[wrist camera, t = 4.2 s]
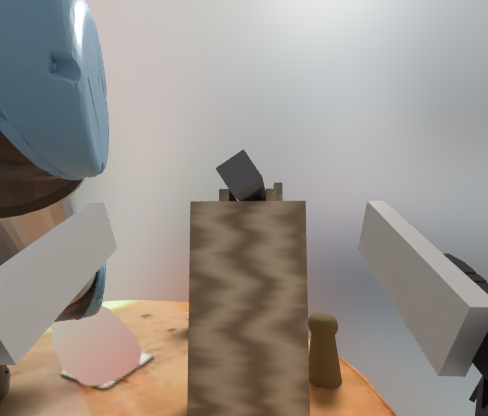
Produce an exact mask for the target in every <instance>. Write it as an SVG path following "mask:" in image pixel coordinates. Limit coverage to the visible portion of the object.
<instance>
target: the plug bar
mask: <svg viewBox="0 0 488 416" xmlns="http://www.w3.org/2000/svg"><path fill="white" fill-rule="evenodd" d="M216 170H217V171H218V173H219V174H220V176H221V177H222V178H223V180H224V182H225V184H226V185H227V187H228V188H229V190H230V191H231V193H232V194H233V196H234V197H235V198H237V199H238V200H239V201H263V200H264V195H265V188H264V183H263V179H262V176H261V175H260V173H259V171H258V170H257V169H256V167H255V166H254V164H253V163H252V161H251V160H250V158H249V157H248V155H247V154H246V152H245V151H244V150H242V151H240V152H239V153H238V154H236V155H235V156H233V157H232V158H230V159H229V160H227V161H226V162H224V163H223V164H221V165H220V166H218V167H217V168H216Z"/></svg>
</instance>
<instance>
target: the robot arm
mask: <svg viewBox="0 0 488 416" xmlns="http://www.w3.org/2000/svg"><path fill="white" fill-rule="evenodd" d="M108 125H109V124H108V111H107V101H106V82H105V74H104V66H103V60H102V53H101V47H100V42H99V37H98V32H97V29H96V25H95V21H94V18H93V15H92V13H91V11H90V9H89V6H88V4H87V2H86V0H0V400H1V399H2V398H3V397H4V396H5V395H6V394H7V392H8V390H9V387H10V371H9V369H8V368H7V367H6V365H17V364H18V363H19V361H20V360H21V359H22V358H23V357H24V356H25V355H26V353H27V352H28V351H29V350H30V349H31V348H32V346H33V345H34V344H35V343H36V342H37V341H38V339H39V338H40V337H41V336H42V335H43V334H44V332H45V331H46V330H47V329H48V328H49V327H50V326H51V324H52V323H53V322H57V321H65V320H72V319H76V320H79V319H82V318H85V317H89V316H93V315H95V314H96V313H97V312H98V311H99V310H100V308H101V305H102V300H103V293H104V288H105V276H106V260H107V259H108V258H109V257H110V256H111V255H112V254H113V252H114V251H115V250H116V249H117V247H116V243H115V240H114V236H113V232H112V229H111V226H110V222H109V218H108V215H107V212H106V208H105V204H104V203H89V204H88V205H86V206H85V207H83V208H82V209H81V210H79V211H78V212H77V206H76V199H75V193H74V192H75V191H76V190H77V189H78V188H79V187H80V185H81V184H82V183H83V181H84V180H85V178H86V177H94V176H96V175H98V174H100V173H102V172H103V170H104V169H105V167H106V163H107V157H108V144H109V141H108V139H109V126H108ZM358 249H359V251H360V252H361V254H362V256H363V257H364V258H365V260H366V262H367V263H368V265H369V267H370V268H371V270H372V271H373V273H374V274H375V276H376V278H377V279H378V281H379V283H380V284H381V286H382V287H383V289H384V291H385V292H386V293H387V295H388V297H389V298H390V300H391V302H392V303H393V305H394V306H395V308H396V310H397V311H398V313H399V314H400V316H401V318H402V319H403V321H404V322H405V324H406V326H407V327H408V329H409V330H410V332H411V333H412V335H413V337H414V338H415V340H416V341H417V343H418V345H419V346H420V348H421V349H422V351H423V353H424V354H425V356H426V357H427V359H428V360H429V362H430V364H431V365H432V367H433V368H434V370H435V372H436V373H437V375H438V376H462V377H463V376H464V377H465V376H466V374H467V372H468V370H469V368H470V366H471V365H472V363H473V364H474V365H475V366H476V368H477V369H478V370H479V371H480V373H481V374H482V375H483V376H482V378H481V380H480V381H479V383H478V385H477V386H476V388H475V390H474V391H473V393H472V395H471V397H470V399H469V400H471V401H472V402H475V400H476V398H477V401H476V411H475V416H488V283H487V282H486V280H485V279H484V278H482V277H481V276H480V275H478V274H476V272H475V271H474V270H473V269H472V268H471V267H469V266H468V265H467V264H466V263H465V262H463V261H461V260H459V259H457V258H456V257H454V256H452V255H450V254H442V253H441V252H440V251H439V250H438V249H437V248H436V247H434V246H433V245H432V244H431V243H430V242H429V241H428V240H427V239H426V238H424V237H423V236H422V235H421V234H420V233H419V232H418V231H417V230H416V229H414V228H413V227H412V226H411V225H410V224H409V223H408V222H407V221H405V220H404V219H403V218H402V217H401V216H400V215H399V214H398V213H397V212H395V211H394V210H393V209H392V208H391V207H390V206H389V205H388V204H386V203H385V202H384V201H367V205H366V210H365V216H364V221H363V226H362V232H361V237H360V242H359V247H358Z"/></svg>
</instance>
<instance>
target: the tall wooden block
mask: <svg viewBox="0 0 488 416" xmlns="http://www.w3.org/2000/svg"><path fill="white" fill-rule="evenodd" d="M190 213H191V214H190V274H189V277H190V278H189V339H188V403H187V416H310V400H309V351H308V305H307V304H308V303H307V257H306V256H307V255H306V206H305V201H282V183H274V189H266V190H265V195H264V200H263V201H237V200H236V198H235V197H234V196H233V194H232V193H231V191H230V190H229V189H220V190H219V201H217V202H215V201H210V202H208V201H207V202H191V210H190Z"/></svg>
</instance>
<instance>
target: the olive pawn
mask: <svg viewBox="0 0 488 416" xmlns="http://www.w3.org/2000/svg"><path fill="white" fill-rule="evenodd" d="M308 327H309V330H310V331H311V341H310V350H309V381H310V382H311V383H313V384H315V385H317V386H320V387H324V388H335V387H338V386H339V385H341V383H342V379H341V372H340V366H339V360H338V353H337V347H336V340H335V334H336V333H337V330H338V324H337V321H336V319H335V317H333V316H332V315H330V314H326V313H314V314H312V315H310V317H309V319H308Z"/></svg>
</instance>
